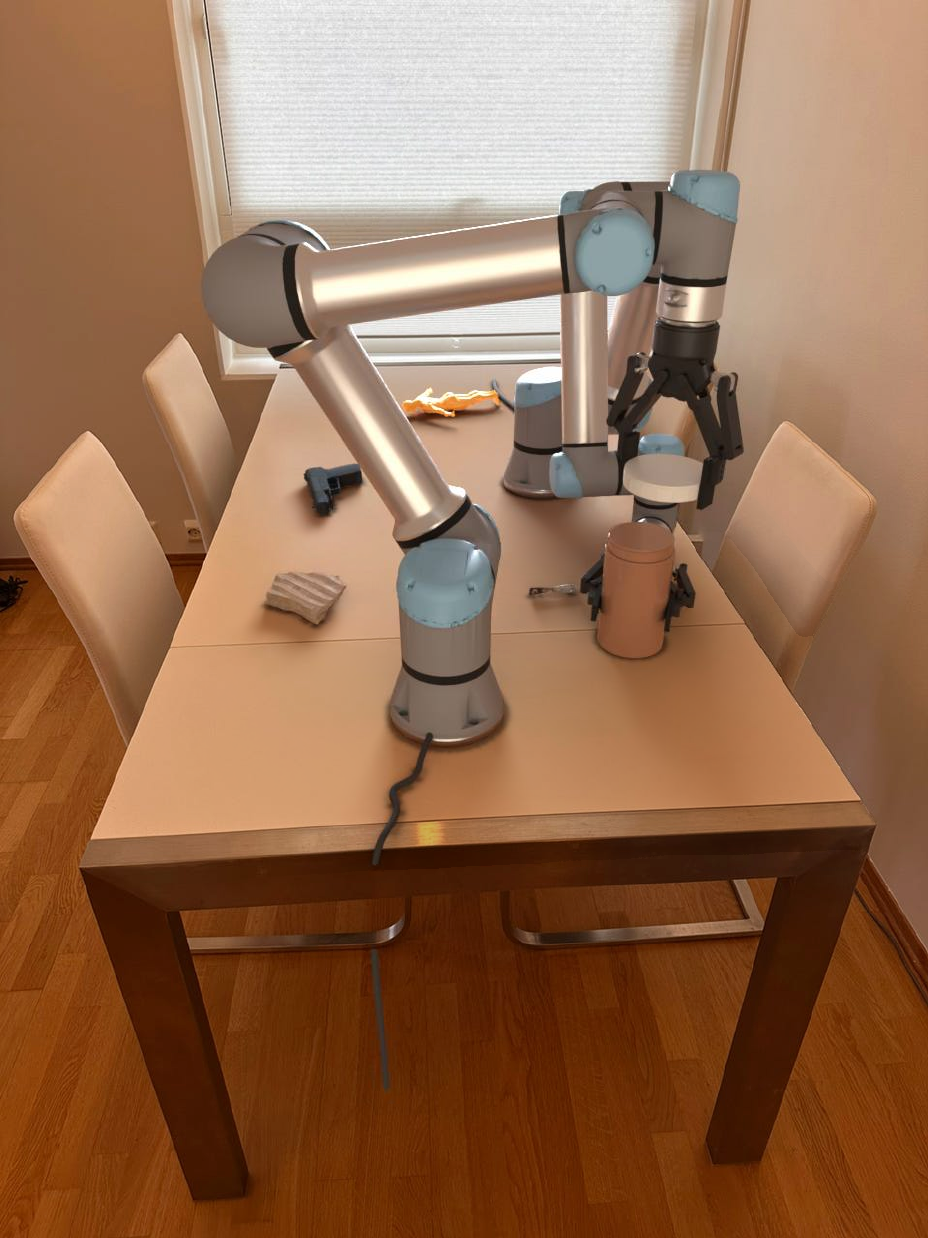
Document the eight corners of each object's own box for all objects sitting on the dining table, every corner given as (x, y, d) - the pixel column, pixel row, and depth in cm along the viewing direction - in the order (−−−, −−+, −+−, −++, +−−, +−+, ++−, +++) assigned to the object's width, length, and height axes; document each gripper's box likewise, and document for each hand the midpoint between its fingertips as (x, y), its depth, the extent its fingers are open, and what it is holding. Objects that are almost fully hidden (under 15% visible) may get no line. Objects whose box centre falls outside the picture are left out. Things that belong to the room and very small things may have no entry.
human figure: (395, 413, 223) (394, 398, 221) (438, 390, 237) (438, 375, 235) (462, 429, 215) (462, 413, 213) (502, 404, 229) (503, 388, 227)
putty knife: (576, 592, 148) (577, 584, 147) (529, 598, 146) (530, 589, 145) (574, 589, 149) (575, 581, 148) (528, 595, 147) (528, 586, 146)
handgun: (374, 509, 176) (313, 517, 173) (359, 474, 190) (302, 481, 188) (373, 494, 174) (311, 502, 172) (358, 460, 188) (301, 466, 186)
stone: (356, 590, 149) (354, 577, 147) (319, 626, 139) (317, 612, 138) (289, 576, 153) (287, 563, 152) (249, 610, 144) (247, 596, 142)
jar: (584, 642, 136) (593, 537, 126) (619, 615, 142) (629, 514, 132) (641, 666, 130) (654, 558, 121) (674, 637, 136) (689, 533, 127)
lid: (726, 496, 112) (729, 480, 111) (648, 508, 109) (650, 491, 108) (680, 464, 121) (682, 449, 120) (607, 474, 118) (609, 459, 117)
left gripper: (587, 308, 108) (574, 477, 120) (766, 343, 95) (732, 529, 107) (621, 298, 113) (606, 461, 124) (797, 330, 100) (761, 510, 111)
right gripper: (713, 578, 147) (706, 651, 128) (578, 561, 152) (552, 629, 134) (720, 537, 143) (713, 607, 124) (580, 521, 148) (555, 585, 130)
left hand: (664, 493), depth 115 cm, fingers closed on lid, 11 cm apart
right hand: (630, 618), depth 129 cm, fingers closed on jar, 10 cm apart
